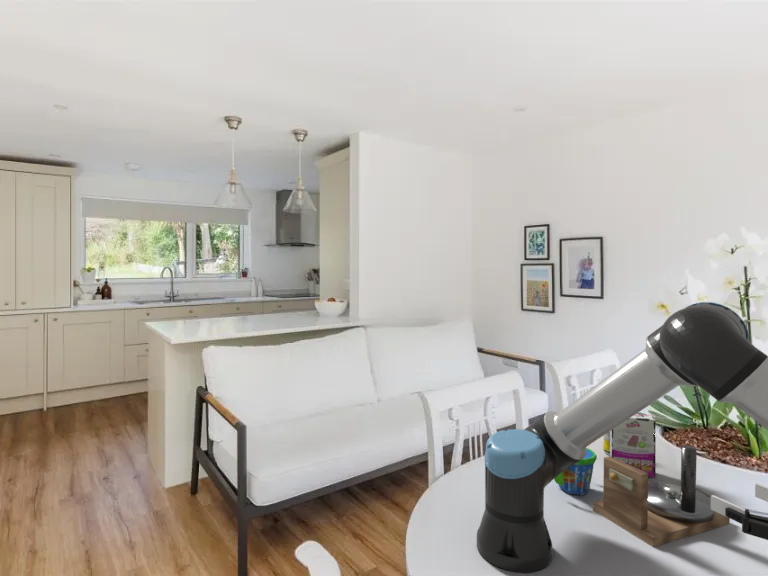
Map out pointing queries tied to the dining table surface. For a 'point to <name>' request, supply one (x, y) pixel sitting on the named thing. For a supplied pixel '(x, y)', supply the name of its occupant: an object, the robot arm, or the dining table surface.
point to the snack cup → (578, 475)
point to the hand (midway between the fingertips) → (734, 495)
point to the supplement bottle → (606, 443)
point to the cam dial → (681, 494)
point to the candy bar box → (635, 443)
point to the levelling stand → (642, 507)
